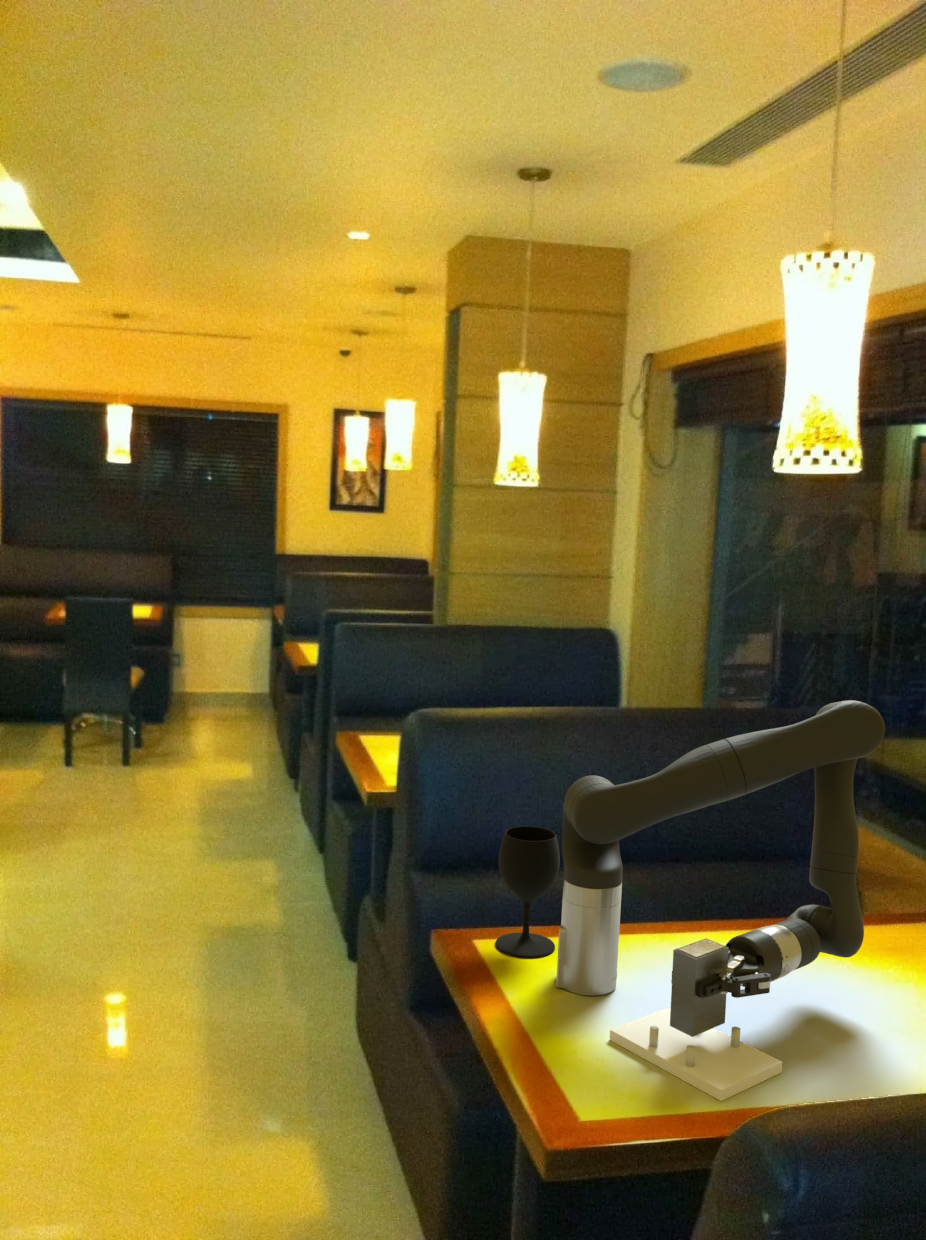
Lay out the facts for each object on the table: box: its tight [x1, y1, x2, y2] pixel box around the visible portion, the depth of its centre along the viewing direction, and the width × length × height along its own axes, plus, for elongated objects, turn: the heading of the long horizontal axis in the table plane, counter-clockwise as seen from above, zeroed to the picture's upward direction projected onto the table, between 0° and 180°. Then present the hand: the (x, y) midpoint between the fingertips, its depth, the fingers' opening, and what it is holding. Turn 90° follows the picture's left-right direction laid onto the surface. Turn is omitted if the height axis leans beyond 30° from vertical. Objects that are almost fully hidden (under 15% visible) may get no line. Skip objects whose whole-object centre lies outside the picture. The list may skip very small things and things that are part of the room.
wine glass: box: [495, 825, 561, 959], centre depth 192 cm, size 10×10×20 cm
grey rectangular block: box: [670, 938, 729, 1037], centre depth 156 cm, size 4×7×11 cm, turn 129°
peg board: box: [609, 1006, 783, 1102], centre depth 157 cm, size 20×13×4 cm, turn 39°
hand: (686, 984), depth 154 cm, fingers closed on grey rectangular block, 4 cm apart
